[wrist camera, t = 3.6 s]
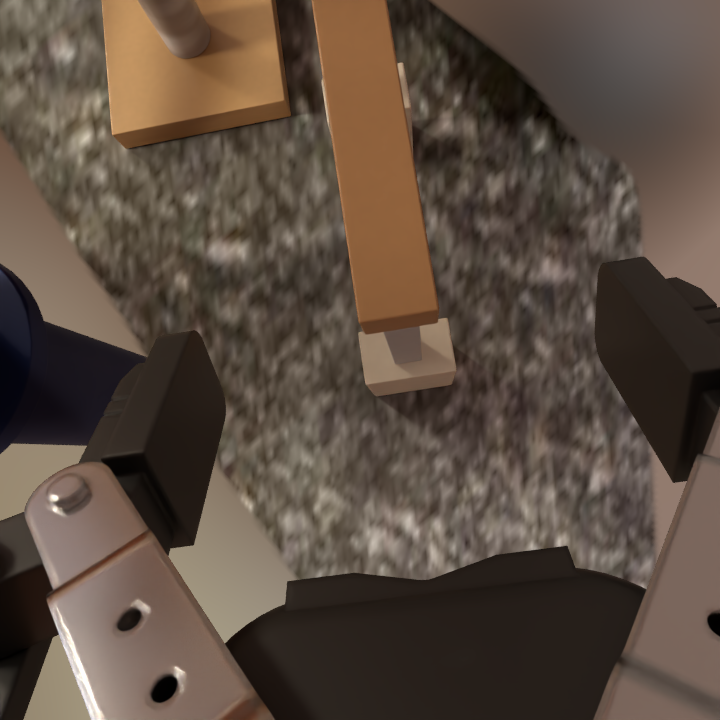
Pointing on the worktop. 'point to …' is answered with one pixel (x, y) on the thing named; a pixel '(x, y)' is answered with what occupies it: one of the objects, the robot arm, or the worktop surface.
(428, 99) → the worktop surface
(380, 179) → the brown blocky piece
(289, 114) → the headphone stand
